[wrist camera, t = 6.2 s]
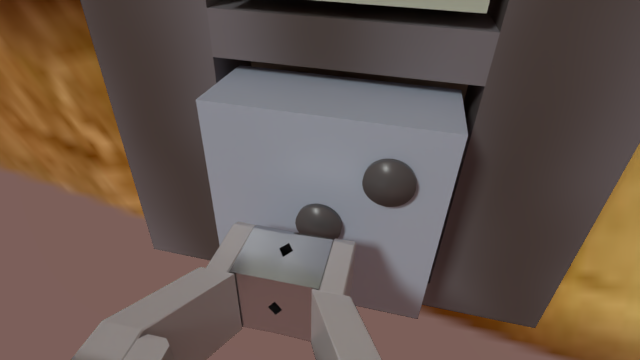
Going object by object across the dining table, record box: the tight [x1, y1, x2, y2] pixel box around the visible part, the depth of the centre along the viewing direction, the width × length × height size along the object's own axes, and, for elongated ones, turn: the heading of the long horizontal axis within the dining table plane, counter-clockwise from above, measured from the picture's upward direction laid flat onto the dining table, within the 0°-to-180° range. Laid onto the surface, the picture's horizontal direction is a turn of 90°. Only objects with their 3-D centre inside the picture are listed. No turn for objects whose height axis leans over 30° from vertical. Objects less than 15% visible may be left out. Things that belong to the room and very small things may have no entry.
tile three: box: [196, 65, 468, 319], centre depth 11 cm, size 6×6×3 cm
